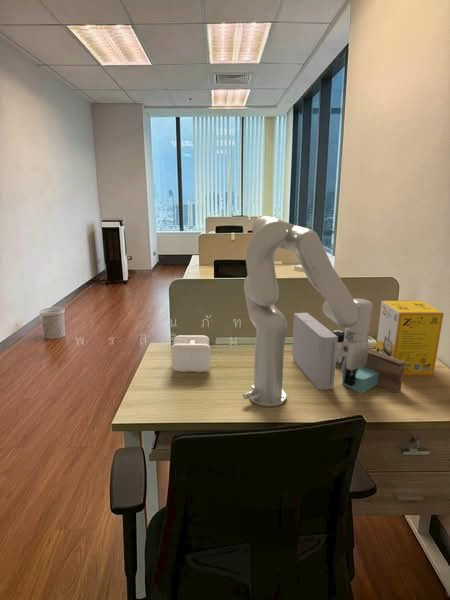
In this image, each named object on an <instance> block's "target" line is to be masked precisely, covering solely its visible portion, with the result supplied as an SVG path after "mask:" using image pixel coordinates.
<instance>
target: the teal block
mask: <svg viewBox="0 0 450 600" xmlns="http://www.w3.org/2000/svg"><path fill="white" fill-rule="evenodd" d="M378 377H379V372H377V371H374V370H372V369H369V368H367V367H364V366H362V367H360V368H358V371H357V374H356V377H355V384H354V385H353V386H349V385H347V384H345V383H344V379H345V373H344V372H342V382H341V385H343V386H346V387H347V388H350V389H352V390H354V391H356V392H358V393H360V394H363V393H365V392H366V391H368V390H371V389H372V388H374V387H376V386H379V385H378Z"/></svg>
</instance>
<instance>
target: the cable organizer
mask: <svg viewBox="0 0 450 600" xmlns="http://www.w3.org/2000/svg"><path fill="white" fill-rule="evenodd" d="M170 350H171V351H170V352H171V357H170V358H171V368H172V370H173V371H176V372H179V373H187V372H195V373H203V372H208V371H209V370H210V369H211V361H212V360H211V358H212V357H211V346H210V338H209V336H207V335H204V334H202V335H200V334H199V335H194V334H193V335H188V334H187V335H182V334H181V335H180V334H179V335H176V336H175V337H174V338H173V344H172V346H171V349H170Z"/></svg>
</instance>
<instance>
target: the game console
mask: <svg viewBox="0 0 450 600" xmlns="http://www.w3.org/2000/svg"><path fill="white" fill-rule="evenodd" d="M292 329H293V331H292V332H293V333H292V345H291V346H292V348H291V353H292V359H293V361H294V363H295V364H296V365H297V366H298V367H299V369H300V370H301V371H302V373H304V374H305V376H306V377H307V378H308V379H309V380H310V381H311V383H312V384H313V385H314V386H315V388H316V389H317V390H320V391H324V390H334V387H335V374H336V366H337V365H336V354H337V343H338V336H336V335H335V334H334V333H332V332H333V331H331V330H330V329H329V328H327V327H326V326H325V325H324V324H322V323H321V322H319V320H317V319H316V318H315V317H314V316H312V315H310V313H308V312H296V313H295V312H294V313H293V327H292Z"/></svg>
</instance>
